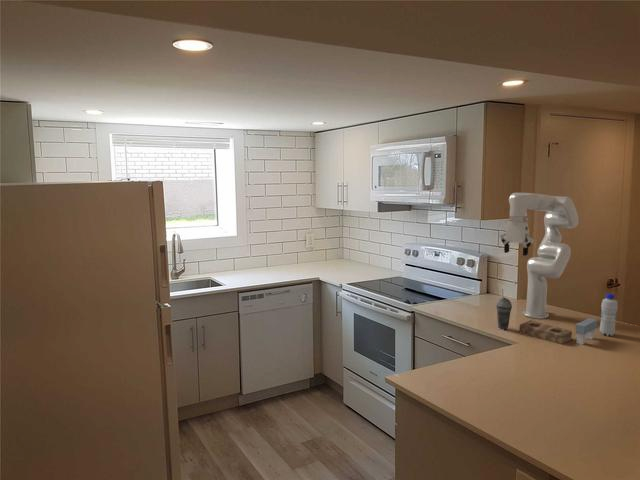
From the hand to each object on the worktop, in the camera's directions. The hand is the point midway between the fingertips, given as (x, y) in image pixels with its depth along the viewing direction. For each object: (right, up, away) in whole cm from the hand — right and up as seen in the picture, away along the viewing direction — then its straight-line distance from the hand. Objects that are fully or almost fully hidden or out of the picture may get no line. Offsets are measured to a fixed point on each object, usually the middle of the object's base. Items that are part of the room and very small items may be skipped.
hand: (515, 253), depth 234 cm
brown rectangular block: (+10, -39, -9) cm, 41 cm away
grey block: (+25, -40, -16) cm, 50 cm away
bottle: (+40, -38, -8) cm, 56 cm away
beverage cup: (-6, -37, +1) cm, 38 cm away
